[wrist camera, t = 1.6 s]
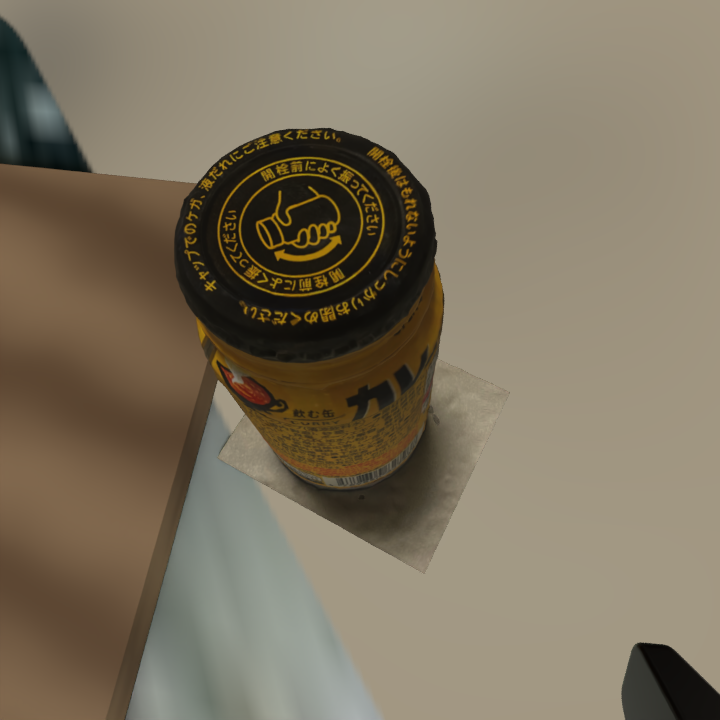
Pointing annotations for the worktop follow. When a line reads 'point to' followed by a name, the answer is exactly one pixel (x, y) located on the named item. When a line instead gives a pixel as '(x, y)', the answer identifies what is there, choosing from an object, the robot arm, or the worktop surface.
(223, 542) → the worktop surface
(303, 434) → the yellow black cylinder
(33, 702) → the walnut board
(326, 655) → the worktop surface
